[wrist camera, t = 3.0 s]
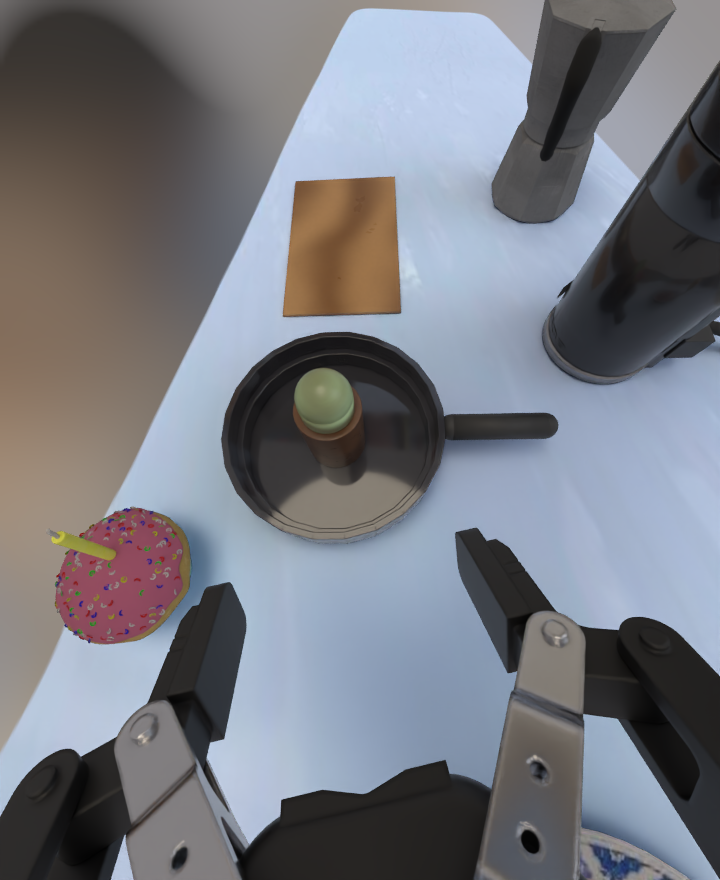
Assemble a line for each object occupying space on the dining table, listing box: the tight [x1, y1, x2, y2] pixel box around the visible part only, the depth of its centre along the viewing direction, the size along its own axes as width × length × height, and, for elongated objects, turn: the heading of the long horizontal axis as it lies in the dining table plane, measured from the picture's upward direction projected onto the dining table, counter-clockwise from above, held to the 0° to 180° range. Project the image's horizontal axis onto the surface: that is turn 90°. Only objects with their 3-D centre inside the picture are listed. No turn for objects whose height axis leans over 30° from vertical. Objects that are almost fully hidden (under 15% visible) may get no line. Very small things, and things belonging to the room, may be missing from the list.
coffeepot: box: [492, 0, 676, 223], centre depth 32 cm, size 15×9×18 cm, turn 155°
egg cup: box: [293, 368, 365, 468], centre depth 26 cm, size 5×5×10 cm
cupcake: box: [46, 507, 192, 644], centre depth 23 cm, size 9×8×12 cm
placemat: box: [283, 177, 401, 317], centre depth 40 cm, size 12×20×1 cm, turn 0°
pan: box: [221, 332, 446, 544], centre depth 29 cm, size 17×17×4 cm
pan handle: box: [444, 413, 558, 440], centre depth 28 cm, size 9×2×2 cm, turn 90°
